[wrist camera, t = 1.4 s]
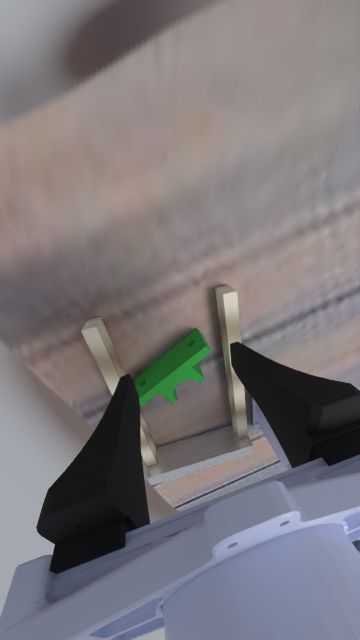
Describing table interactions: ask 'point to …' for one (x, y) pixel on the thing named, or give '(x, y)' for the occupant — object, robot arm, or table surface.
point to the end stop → (198, 453)
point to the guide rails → (229, 334)
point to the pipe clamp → (173, 369)
